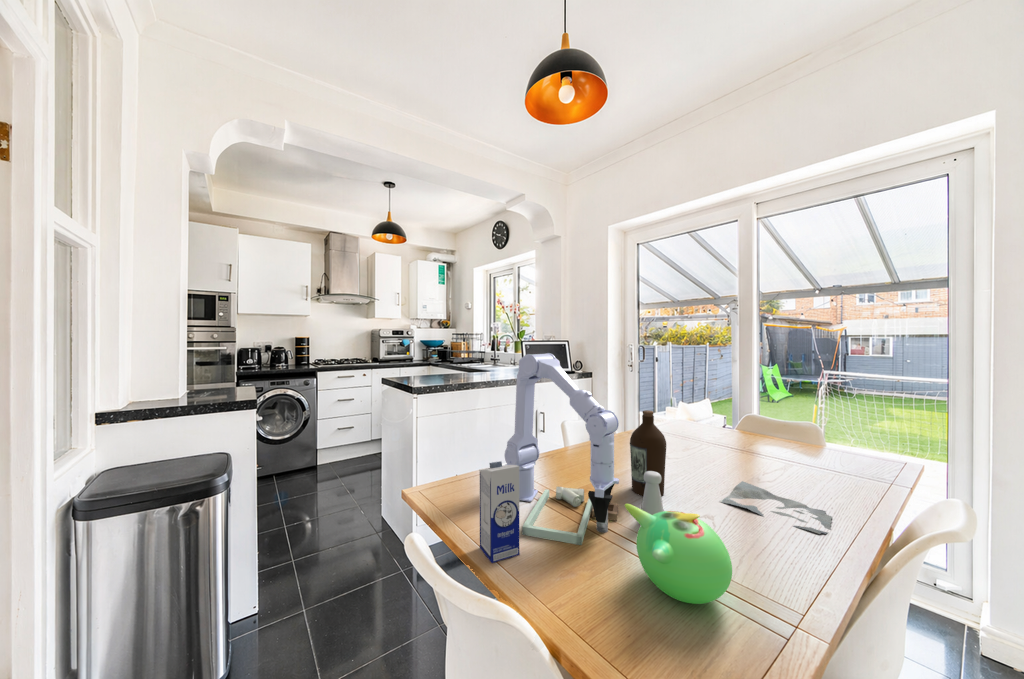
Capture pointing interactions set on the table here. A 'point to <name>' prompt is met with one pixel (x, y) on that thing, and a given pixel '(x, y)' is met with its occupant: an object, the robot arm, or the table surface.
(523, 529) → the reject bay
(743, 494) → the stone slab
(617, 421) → the robot arm
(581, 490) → the pipe fitting
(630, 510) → the toy bird
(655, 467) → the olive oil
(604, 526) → the pin
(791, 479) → the table surface
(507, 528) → the milk carton
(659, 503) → the salt shaker
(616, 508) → the tan square frame
